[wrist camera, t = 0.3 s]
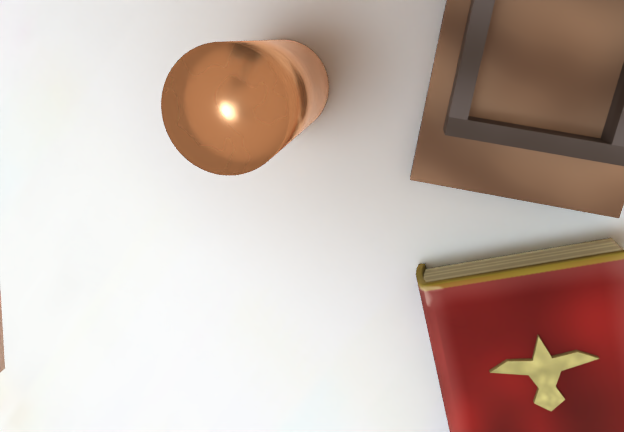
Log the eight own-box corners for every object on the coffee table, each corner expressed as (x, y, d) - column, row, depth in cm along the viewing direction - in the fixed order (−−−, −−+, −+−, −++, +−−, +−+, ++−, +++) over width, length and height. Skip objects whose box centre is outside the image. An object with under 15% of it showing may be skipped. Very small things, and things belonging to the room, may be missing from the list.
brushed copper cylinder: (244, 32, 36) (166, 31, 24) (335, 47, 35) (297, 53, 24) (235, 123, 37) (156, 162, 26) (321, 139, 37) (279, 186, 25)
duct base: (470, -116, 32) (476, -131, 29) (709, -86, 30) (740, -98, 27) (410, 176, 36) (410, 188, 34) (613, 213, 35) (630, 228, 32)
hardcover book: (472, 528, 44) (478, 577, 40) (415, 262, 39) (416, 288, 35) (651, 515, 41) (676, 566, 37) (615, 228, 36) (640, 252, 32)
